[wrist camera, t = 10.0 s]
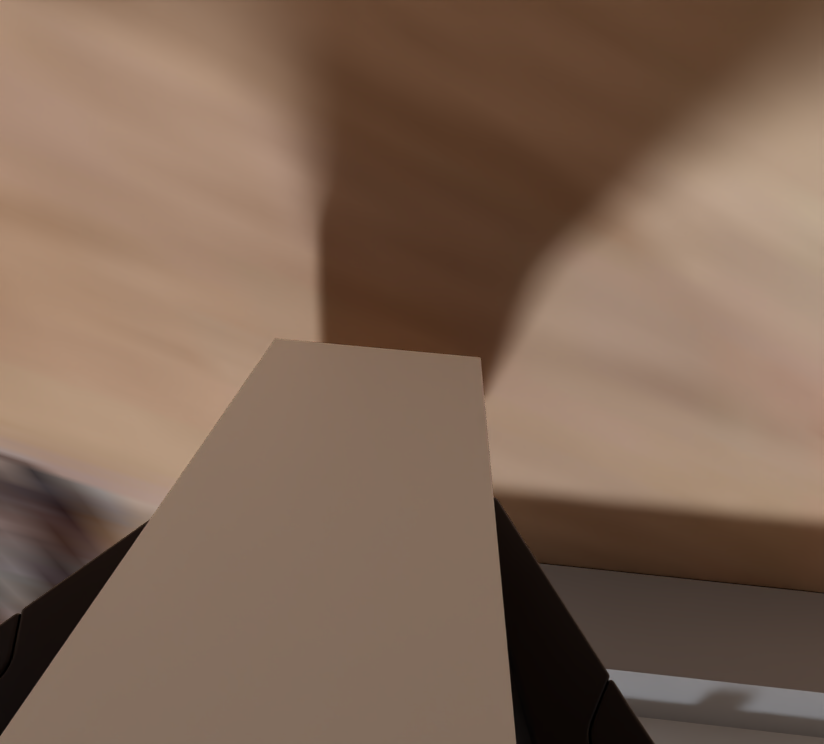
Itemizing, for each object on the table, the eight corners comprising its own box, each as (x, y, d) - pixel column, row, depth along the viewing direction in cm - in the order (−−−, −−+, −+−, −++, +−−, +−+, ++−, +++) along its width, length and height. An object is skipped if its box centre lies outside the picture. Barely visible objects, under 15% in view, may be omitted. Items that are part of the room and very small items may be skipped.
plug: (480, 357, 10) (547, 1084, 3) (457, 506, 12) (460, 1132, 5) (275, 338, 10) (-170, 982, 3) (288, 489, 12) (50, 1073, 5)
